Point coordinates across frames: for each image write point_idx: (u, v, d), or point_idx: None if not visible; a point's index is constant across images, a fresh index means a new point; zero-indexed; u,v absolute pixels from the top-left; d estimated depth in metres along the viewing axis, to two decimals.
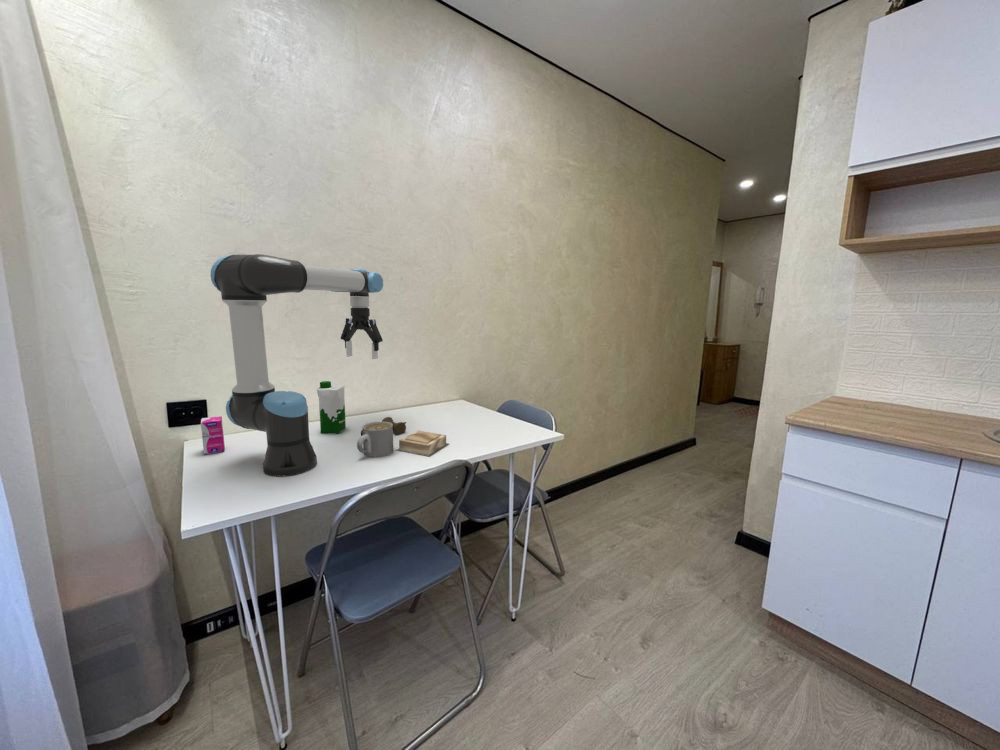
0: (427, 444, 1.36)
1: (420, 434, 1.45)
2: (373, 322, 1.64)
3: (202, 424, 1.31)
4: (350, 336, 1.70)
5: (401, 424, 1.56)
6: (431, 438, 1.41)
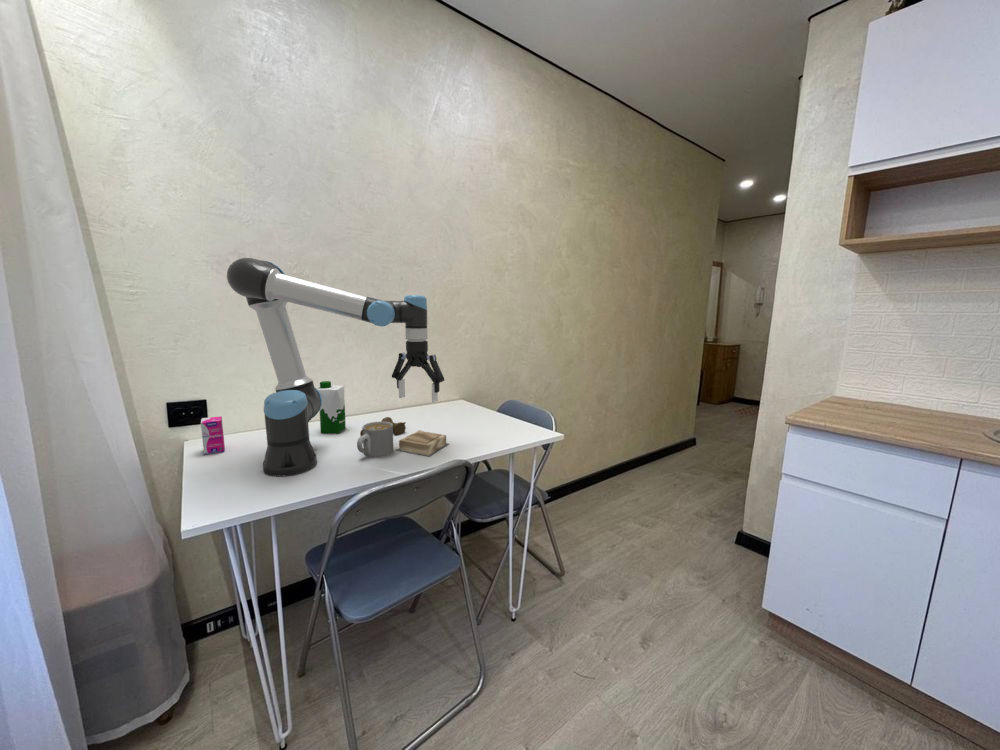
0: (427, 444, 1.36)
1: (420, 434, 1.45)
2: (433, 358, 1.37)
3: (202, 424, 1.31)
4: (403, 374, 1.43)
5: (401, 424, 1.56)
6: (431, 438, 1.41)
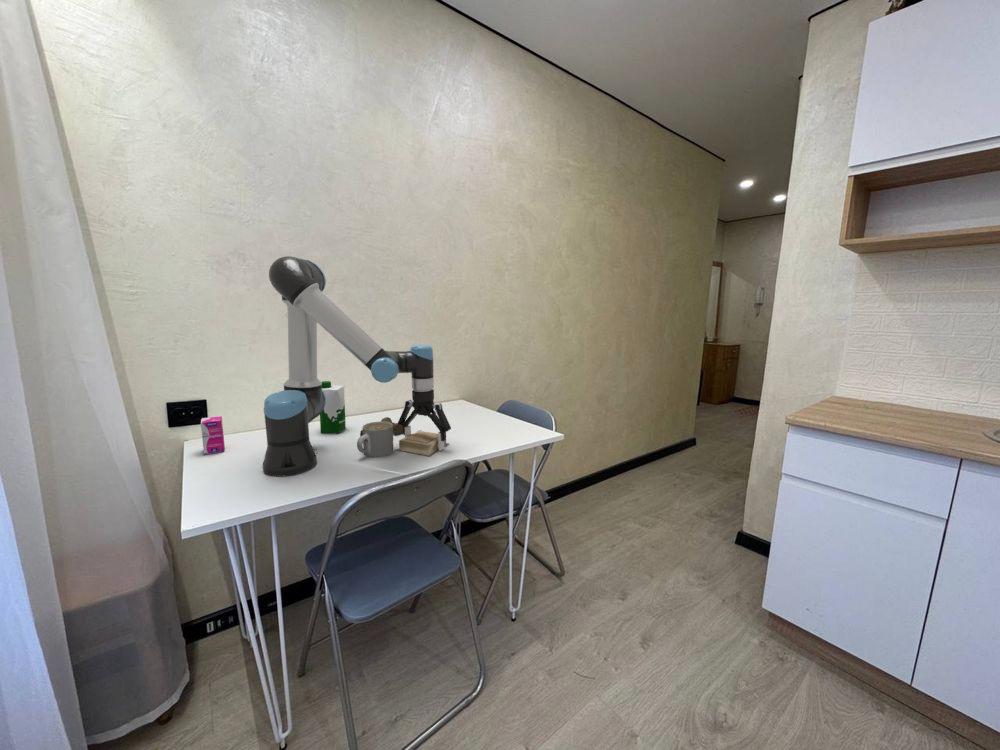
0: (427, 444, 1.36)
1: (420, 434, 1.45)
2: (440, 408, 1.37)
3: (202, 424, 1.31)
4: (410, 421, 1.43)
5: None
6: (431, 438, 1.41)
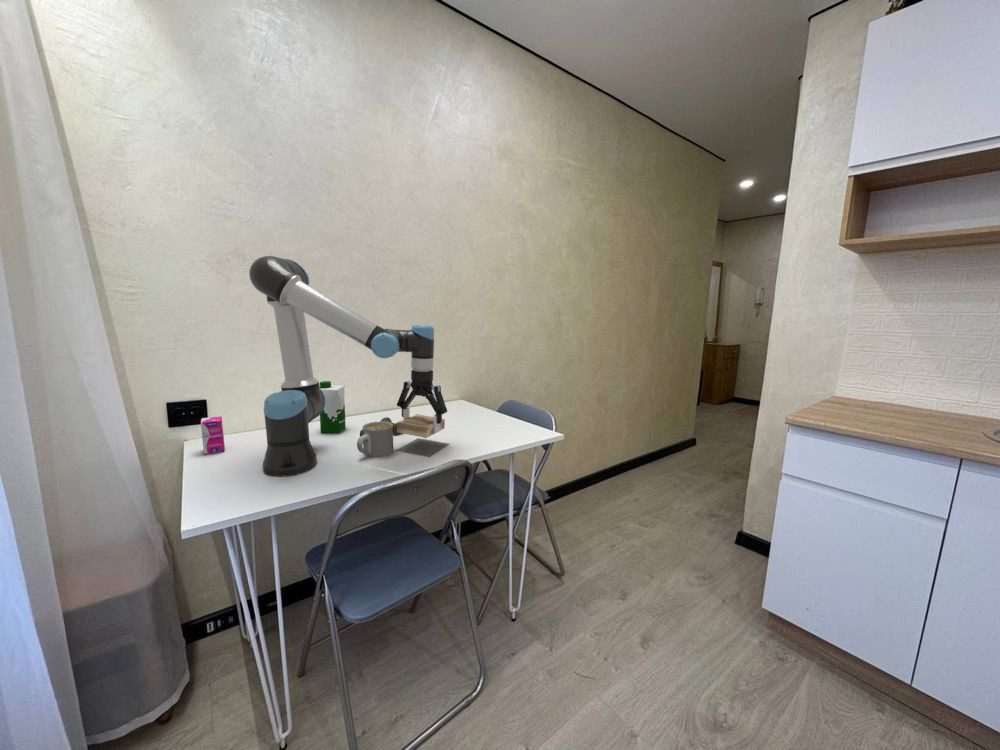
0: (425, 427, 1.35)
1: (418, 417, 1.43)
2: (438, 389, 1.36)
3: (202, 424, 1.31)
4: (408, 403, 1.42)
5: None
6: (429, 421, 1.40)
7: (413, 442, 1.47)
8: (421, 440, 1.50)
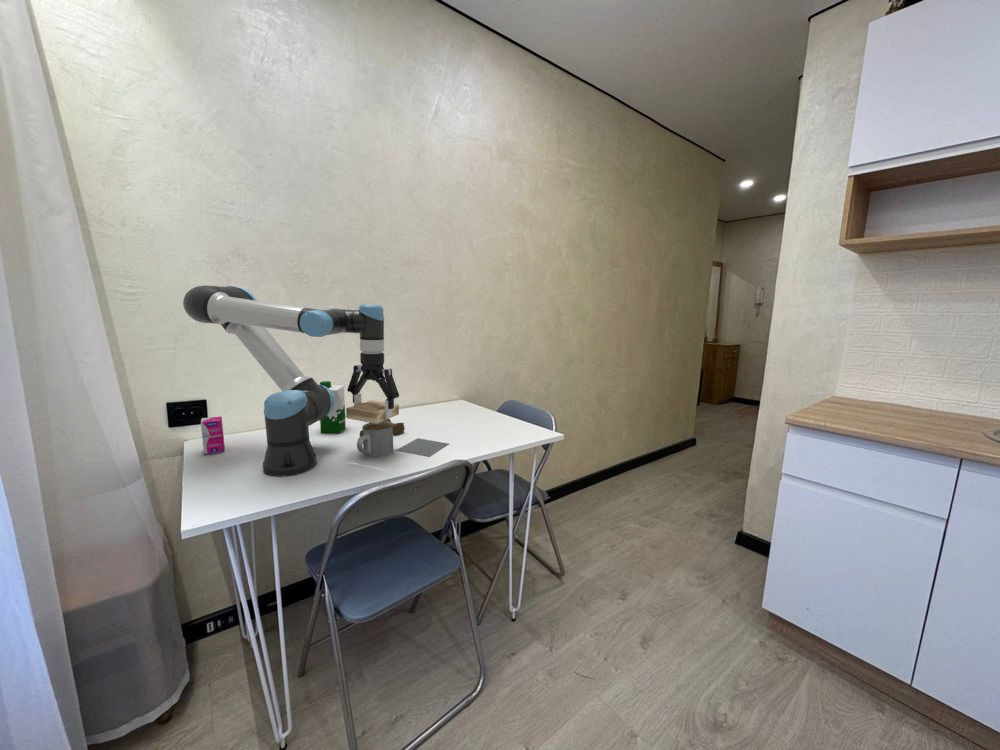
0: (375, 412, 1.27)
1: (371, 403, 1.36)
2: (389, 373, 1.29)
3: (202, 424, 1.31)
4: (359, 388, 1.35)
5: (400, 424, 1.55)
6: (381, 406, 1.32)
7: (413, 442, 1.47)
8: (421, 440, 1.50)
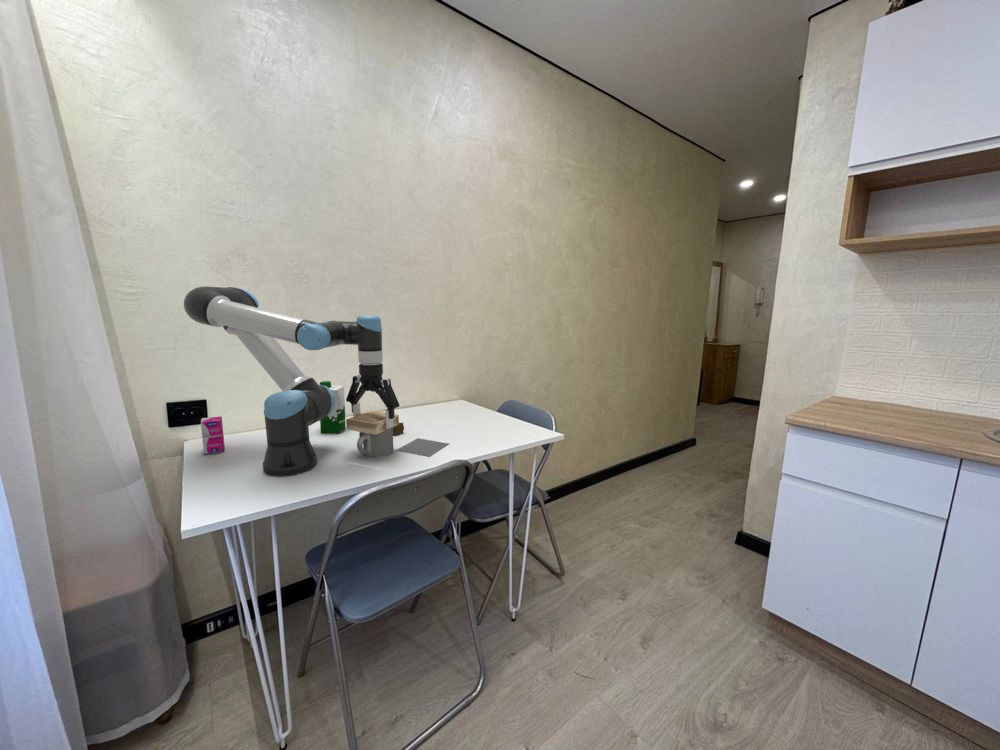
0: (374, 423, 1.28)
1: (370, 413, 1.36)
2: (388, 383, 1.29)
3: (202, 424, 1.31)
4: (358, 398, 1.35)
5: (399, 424, 1.55)
6: (381, 417, 1.32)
7: (413, 442, 1.47)
8: (421, 440, 1.50)
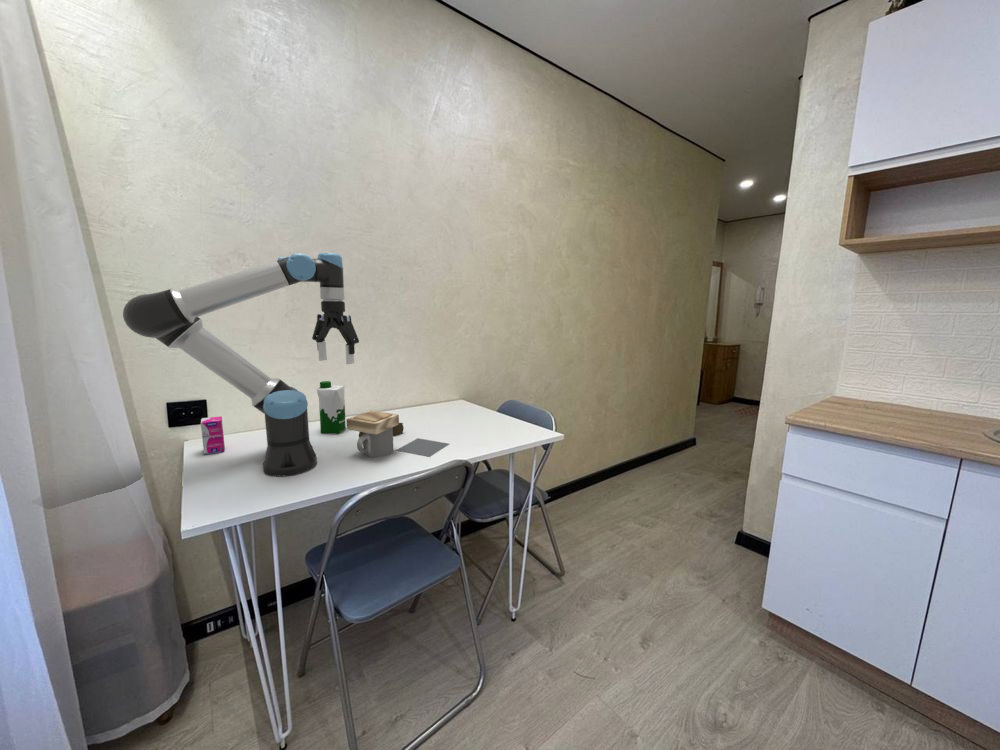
0: (374, 423, 1.28)
1: (371, 413, 1.36)
2: (347, 319, 1.33)
3: (202, 424, 1.31)
4: (323, 336, 1.40)
5: (399, 424, 1.55)
6: (381, 417, 1.33)
7: (413, 442, 1.47)
8: (421, 440, 1.50)
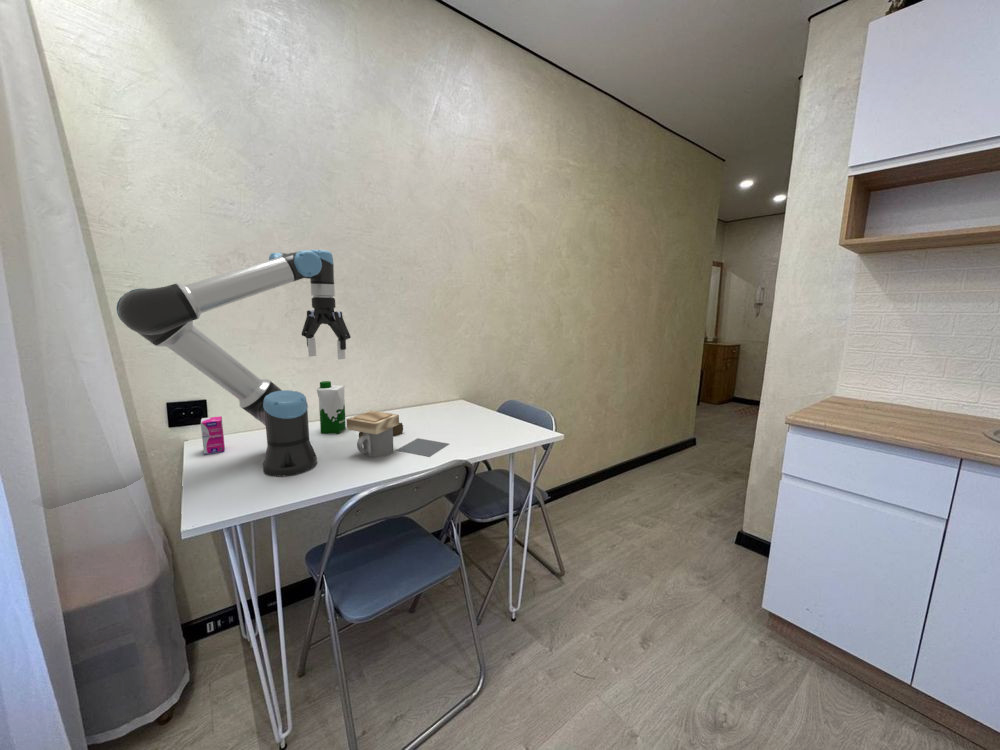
0: (375, 423, 1.28)
1: (371, 413, 1.37)
2: (339, 315, 1.36)
3: (202, 424, 1.31)
4: (313, 332, 1.42)
5: (399, 425, 1.55)
6: (381, 417, 1.33)
7: (413, 442, 1.47)
8: (421, 440, 1.50)
